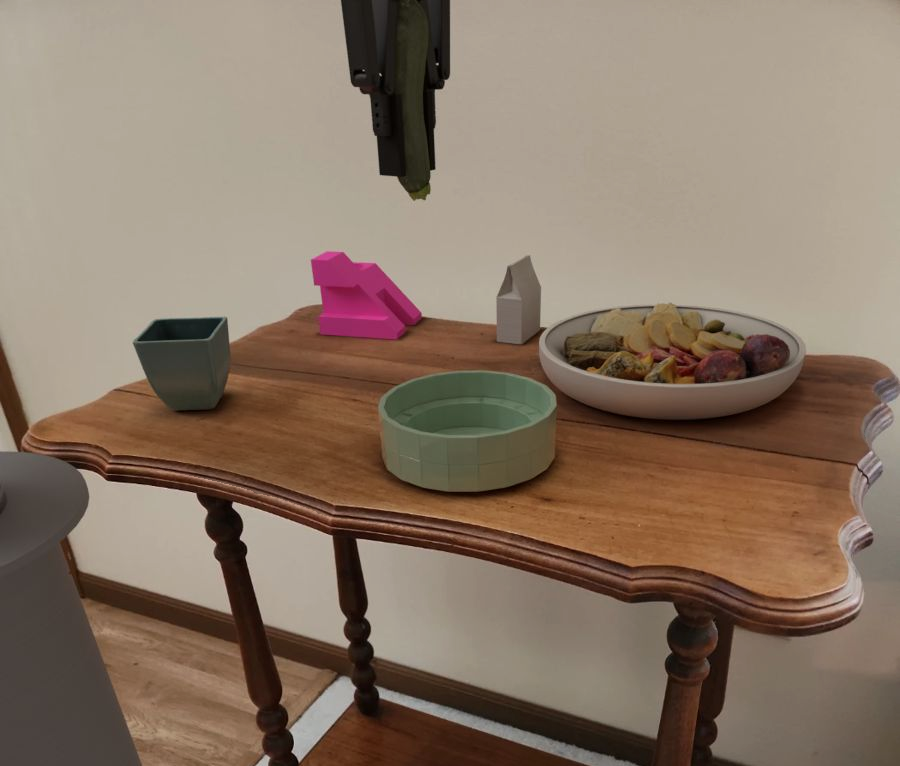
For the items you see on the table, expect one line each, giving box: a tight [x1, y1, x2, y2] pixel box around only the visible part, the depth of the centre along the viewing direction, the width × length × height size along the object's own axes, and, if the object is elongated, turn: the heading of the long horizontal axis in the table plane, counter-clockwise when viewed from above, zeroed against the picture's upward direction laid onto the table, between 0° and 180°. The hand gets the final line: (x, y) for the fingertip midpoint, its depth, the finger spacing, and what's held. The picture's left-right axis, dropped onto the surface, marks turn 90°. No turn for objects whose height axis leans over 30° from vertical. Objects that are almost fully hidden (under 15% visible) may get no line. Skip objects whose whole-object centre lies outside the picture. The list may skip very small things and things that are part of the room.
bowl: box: [538, 302, 807, 421], centre depth 95 cm, size 30×30×8 cm
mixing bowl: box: [377, 369, 558, 493], centre depth 80 cm, size 17×17×6 cm
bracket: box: [310, 250, 423, 340], centre depth 117 cm, size 12×10×10 cm
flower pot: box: [132, 316, 231, 411], centre depth 94 cm, size 9×9×9 cm
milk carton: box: [495, 254, 542, 345], centre depth 111 cm, size 4×7×10 cm, turn 153°
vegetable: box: [392, 0, 432, 202], centre depth 74 cm, size 4×4×20 cm
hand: (407, 171), depth 78 cm, fingers closed on vegetable, 4 cm apart
